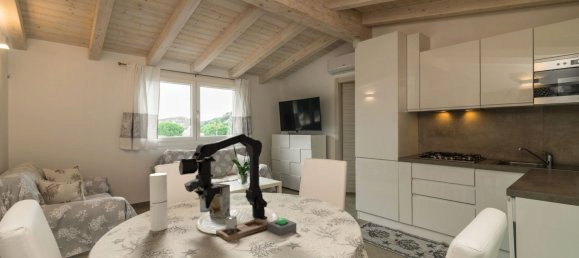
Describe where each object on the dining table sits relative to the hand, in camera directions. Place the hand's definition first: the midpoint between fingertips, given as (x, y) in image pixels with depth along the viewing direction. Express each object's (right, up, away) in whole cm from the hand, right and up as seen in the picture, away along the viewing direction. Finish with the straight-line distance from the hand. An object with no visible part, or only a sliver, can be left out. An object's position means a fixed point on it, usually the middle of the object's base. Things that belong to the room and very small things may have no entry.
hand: (205, 207), depth 119 cm
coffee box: (+1, -11, +22) cm, 25 cm away
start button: (+34, -7, -2) cm, 35 cm away
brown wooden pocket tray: (+17, -11, -2) cm, 20 cm away
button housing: (+34, -10, -2) cm, 36 cm away
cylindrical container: (-23, -11, +5) cm, 26 cm away
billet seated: (+13, -10, -6) cm, 17 cm away
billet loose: (0, -2, 0) cm, 2 cm away
